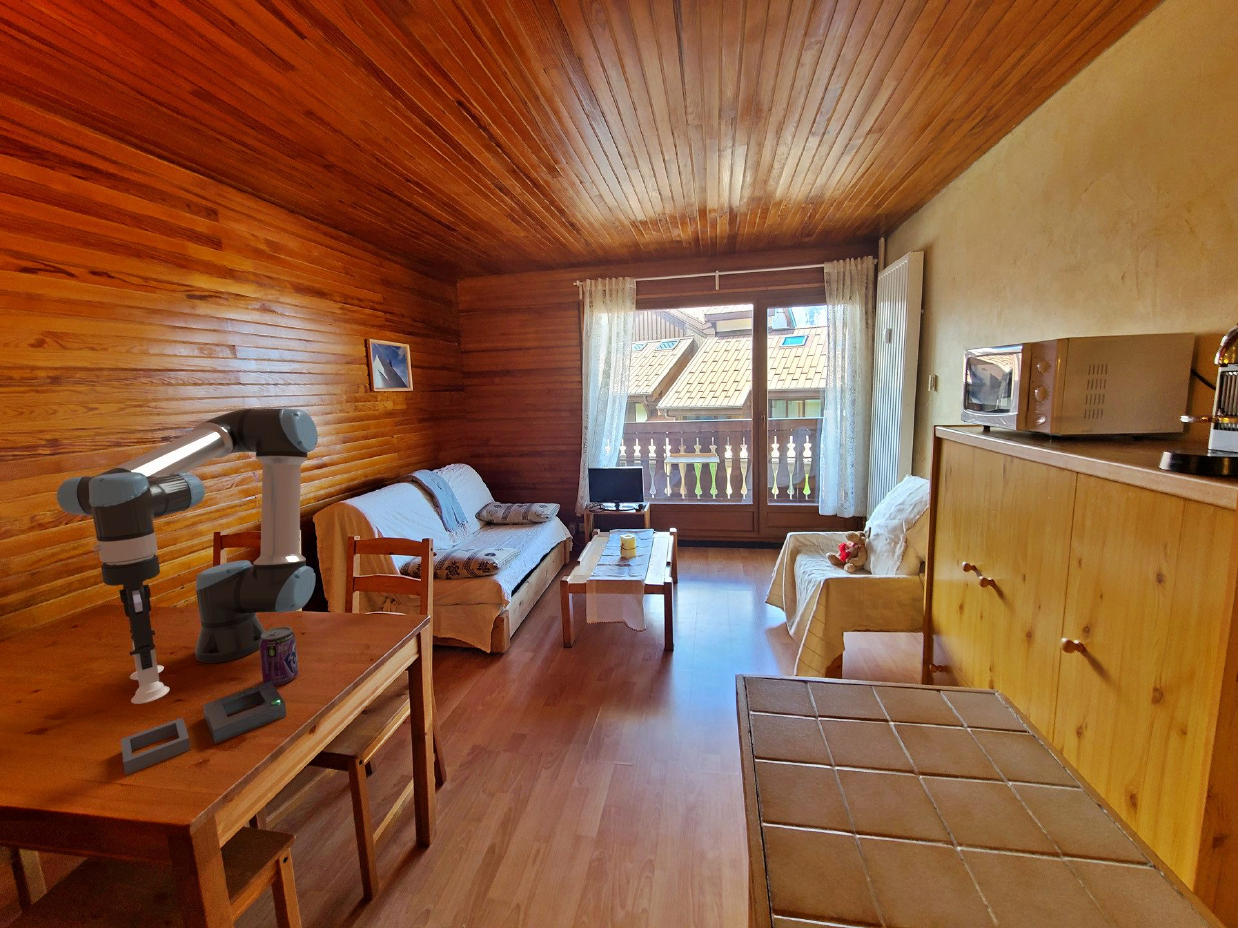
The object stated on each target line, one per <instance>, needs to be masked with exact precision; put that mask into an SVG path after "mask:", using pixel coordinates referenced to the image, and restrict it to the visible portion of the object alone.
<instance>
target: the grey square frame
mask: <svg viewBox="0 0 1238 928" xmlns="http://www.w3.org/2000/svg"><path fill="white" fill-rule="evenodd" d="M176 735H177V738H176V739H173V740H171V741H167V742H165V743H163V744H160V745H158V746H154V747H152V748H149V749H147V750H144V751H142V752H141V751H140V752H139V753H136V754H133V751H135V750H139V749H141V748H144V747H146V746H149V745H152V744H155V743H157V742H159V741H162V740H166V739H168V738H170V737H174V736H176ZM120 743H121V745H120V746H121V754H122V763H123V769H124V774H125V775H124V776H127V775H129V774H132V773H134V772H137V771H140V770H142V769H145V768H148V767H150V766H153V765H155V764H158V763H161V762H163V761H165V760H167V759H170V758H173V757H176V756H178V755H180V754H183V753H187V752H188V751H190V750H191V743H190V736H189V734H188V730H187V727H186V724H185V721H184V718H183V717H180V718H177V719H173V720H171V721H168V722H165V723H163V724H160V725H158V726H154V727H151V728H149V729H146V730H143V731H139V732H137V733H134V734H132V735H129V736H127V737H123V738H120Z"/></svg>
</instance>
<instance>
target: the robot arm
mask: <svg viewBox="0 0 1238 928" xmlns="http://www.w3.org/2000/svg"><path fill="white" fill-rule="evenodd" d="M318 435H319V434H318V430H317V426H316V424H315V420H313V418H312V417H311V415H309V413H308V412H307V411H305V410H302V409H298V408H285V407H283V408H243V409H237V410H234V411H230V412H226V413H224V414H220V415H218V416H215V417H213V418H211V419H207V420H206V421H203V422H200V423H199V424H198V425H196V426H195V427H194V428H193V429H192V431H191V432H190V433H188V434H185V435H183V436H180V437H179V438H176V439H174V440H173V441H170V442H167V443H166V444H162V445H161V446H159V447H156V448H154V449H153V450H150V451H148V452H146V453H144V454H142V455H140V456H138V457H135V458H132V459H130V460H127V461H126V462H124V463H121V464H120V465H119V464H118V465H117V466H115V467H112V468H110V469H109V470H106V471H104V472H101V473H99V474H97V475H92V476H89V475H82V476H75V477H71V478H68V479H66V480H65V481H63V482H62V483H61V484H60V485H59V487H58V488H57V492H56V502H57V503H58V505H59V507H60V508H61V509H62V510H63V511H64V512H66V513H68V514H69V515H76V516H77V515H81V516H89V517H91V516H92V518H93V519H92V520H93V525H94V530H95V531H94V532H95V536H96V541H97V545H93V547H92V550H93V551H94V552H97V551H99V552H98V554H99V561H101V562H103V563H102V564H101V566H100V570H101V576H102V582H103V583H104V585H106V586H111V587H118V586H122V589H119V590H118V591H119V596H120V597H119V598H120V601H121V603H122V605H123V610H124V615H125V616H126V617H128V621H129V627H130V630H129V633H130V634H131V636H130V638H131V640H132V642H131V644H132V651H129V656H130V657H131V656H133V657H134V664H135V672H136V671H137V674H138V680H137V681H138V686H139V687H141V686H144V685H147V684H150V683H154V682H157V681H159V682H160V677H159V676H160V675H159V673H158V668H157V665H158V663H157V655H156V649H155V647H156V644H155V643H154V637H153V636H156V632H155V630H152V625H151V617H150V612H151V611H152V605H151V600H150V598H151V596H152V593H151V592H152V591H151V588H150V586H149V583H147V584H144V582H145V581H147V580H151V579H154V578H156V577H157V576H159V574H160V573H161V567H160V561H159V556H158V555H157V554H156V553H158V551H159V550H158V543H157V537H156V531H155V526H154V519H157V518H161V517H166V516H168V515H172V514H176V513H180V512H184V511H185V512H186V511H188V510H189V509H193V508H194V507H196V506H198V505H199V504H201V503H202V502H203V500H204V498H205V496H206V489H205V484H204V483H203V481H202V480H201V479H200V478H199V477H198V476H197V475H195V474H192V473H189V472H191V471H192V470H194V469H196V468H198V467H199V466H201V465H203V464H206V463H208V462H209V461H210V460H212V459H223V458H225V457H227V456H228V455H233V454H237V453H255V459H256V460H257V461H258V462H259V463H261V465H262V474H261V475H262V476H261V477H262V479H261V480H262V481H261V486H262V487H261V515H260V516H261V519H260V520H261V525H260V555H259V557H257V559H256V560H254V561H253V564H252V563H251V561H249V560H245V559H244V560H243V559H241V560H235V561H230V562H225V563H222V564H219V565H214V566H212V567H209V568H207V569H205V570H202V571H201V572H200V573H198V574H197V576H196V578H195V586H196V587H195V592H196V599H197V605H198V606H197V607H198V612H199V613H198V614H199V621H200V632H199V635H198V639H197V641H196V646H195V648H194V649H195V651H194V654H195V660H196V661H198V662H200V663H204V664H217V663H224V662H229V661H235V660H236V659H237V660H238V659H240V658H243V657H246V656H248V655H251V654H253V653H255V652H256V651H260V648H259V642H260V640H261V634H262V633H264V632H265V631H266V630H265V629H264V627H263V626H262V624H261V621H260V620H259V618H258V616H257V613H278V614H283V613H289V612H296V611H299V610H301V609H302V608H304V607H305V606H306V605H307V604H308V602H309V600H310V599H311V597H312V595H313V593H314V589H315V586H316V573H315V572H314V569H313V568H312V567H311V566H307V565H306V562H307V560H306V557H305V556H303V555H302V554H301V553H300V537H301V535H300V533H301V532H300V531H301V522H300V521H301V486H302V485H301V484H302V483H301V478H302V476H301V475H302V473H301V472H302V469H301V468H302V465H303V464H304V463H305V462H306V461H307V460H308V453H311V452H313V451H314V450H315V449H316V447H317V444H318V439H319V438H318V437H319V436H318ZM133 642H134V645H133ZM134 647H135V649H134ZM139 687H138V688H139Z"/></svg>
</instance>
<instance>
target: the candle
mask: <svg viewBox="0 0 1238 928" xmlns="http://www.w3.org/2000/svg"><path fill="white" fill-rule="evenodd" d="M132 642H133V645H134V641H132ZM133 645H132V646H133ZM134 649H135V647H134ZM157 668H158V674H159V673H161V672H162V671H163V670H164V668H165V667H164V666H163V665H160V664H157ZM129 679H131V680H135V681H138V674H137V671H136V670H135V671H134V672H133V673H131V675H130V676H129ZM169 691H170V687H169V686H166V685H165V684H164V683H163V682H162V681H160V680H159V681H157V682H154V683H150V684H147V685H144V686H141V687H138V688H137V690H136V691H135V695H134V696H133V697H132V698H131V700H130V702H131V703H132V704H135V705H137V704H138V705H139V704H146V703H150V702H153V701H155V700H159V699H160V698H162V697H164V696H166V695H167V694H168V693H169Z"/></svg>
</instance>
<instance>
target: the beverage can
mask: <svg viewBox="0 0 1238 928" xmlns="http://www.w3.org/2000/svg"><path fill="white" fill-rule="evenodd" d="M259 648H260V649H259V655H260V656H259V657H260V666H261V675H262V684H264V683H267V682H269V681H271V682H272V684H273V685H274V686H280V685H283V684H287V683H288V682H290V681H292V680H293V679H295V678H297V676H298V675H299V673H300V672H299V663H298V654H297V653H298V651H297V641H296V634H295V633H294V632H293V628H292V627H291V626H278V627H273V628H271V629H268V630H265V632H264V633H262V634H261V640H260V642H259Z"/></svg>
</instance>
